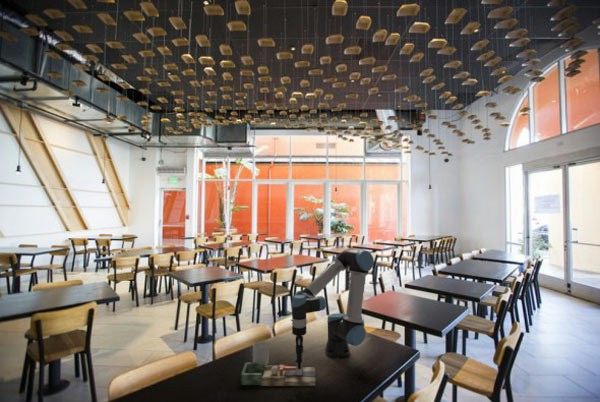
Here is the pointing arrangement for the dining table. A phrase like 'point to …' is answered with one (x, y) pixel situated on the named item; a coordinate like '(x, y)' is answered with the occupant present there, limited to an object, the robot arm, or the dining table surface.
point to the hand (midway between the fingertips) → (299, 368)
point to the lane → (275, 376)
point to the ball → (274, 370)
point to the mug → (261, 352)
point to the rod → (291, 368)
